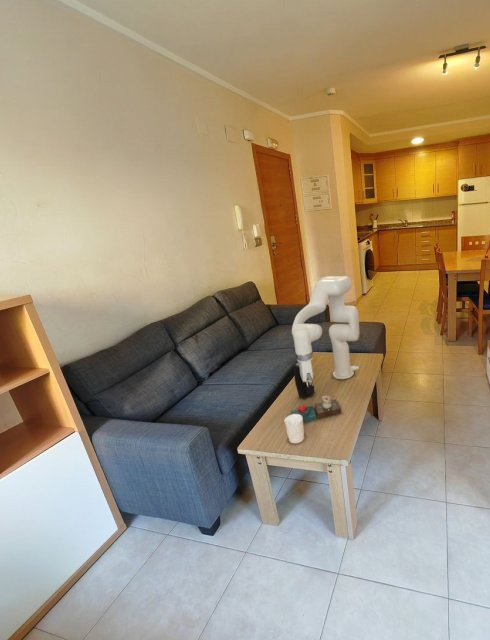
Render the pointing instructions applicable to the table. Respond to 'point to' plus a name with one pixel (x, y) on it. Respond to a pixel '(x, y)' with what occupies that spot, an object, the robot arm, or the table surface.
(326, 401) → the dial
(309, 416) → the button block
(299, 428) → the white cup
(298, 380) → the portable speaker
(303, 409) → the button
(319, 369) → the table surface
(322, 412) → the dial panel
